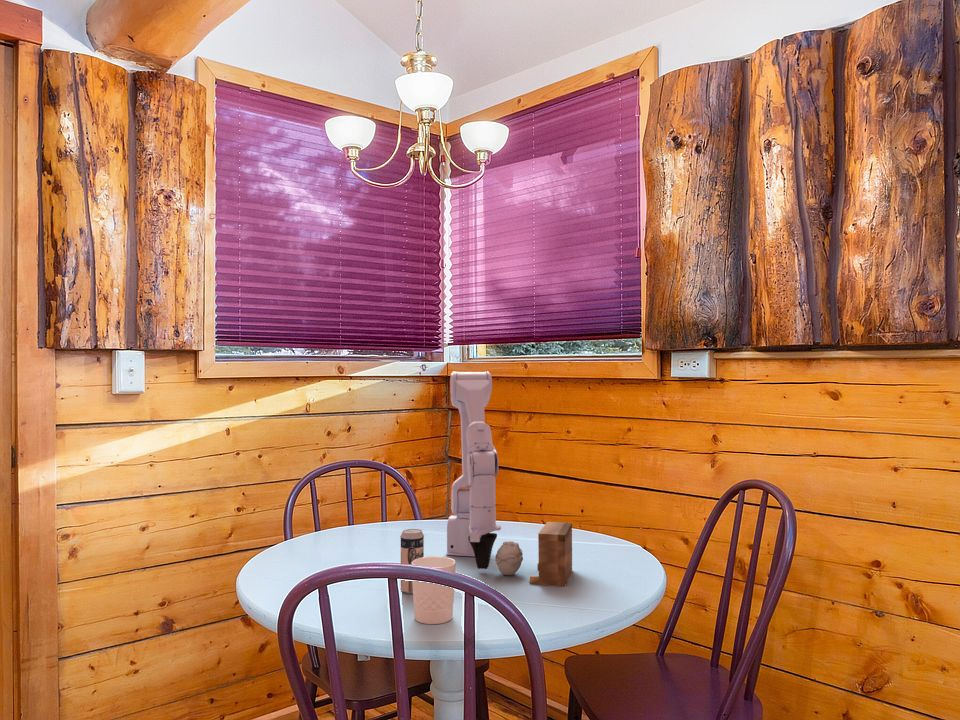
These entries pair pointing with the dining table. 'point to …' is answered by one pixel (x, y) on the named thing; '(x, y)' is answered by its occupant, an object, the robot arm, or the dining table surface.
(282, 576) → the dining table surface
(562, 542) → the upright wooden block
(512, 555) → the pink clay lump
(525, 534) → the dining table surface
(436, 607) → the pink cup
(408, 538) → the beer can
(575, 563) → the dining table surface
